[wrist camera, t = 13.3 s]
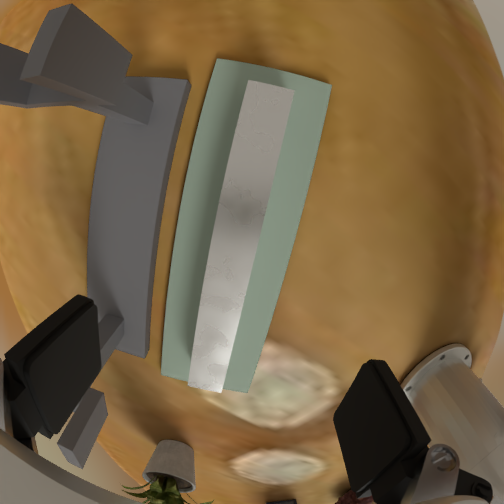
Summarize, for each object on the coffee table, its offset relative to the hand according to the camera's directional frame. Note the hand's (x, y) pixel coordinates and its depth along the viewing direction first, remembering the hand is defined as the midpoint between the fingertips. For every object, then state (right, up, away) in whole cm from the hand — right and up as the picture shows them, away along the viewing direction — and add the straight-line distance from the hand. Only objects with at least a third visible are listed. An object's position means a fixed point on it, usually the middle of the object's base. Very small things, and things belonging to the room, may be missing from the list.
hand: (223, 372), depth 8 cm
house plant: (-9, -24, +22) cm, 34 cm away
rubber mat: (-1, +4, +13) cm, 14 cm away
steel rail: (-1, +4, +13) cm, 13 cm away
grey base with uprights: (-9, +6, +13) cm, 17 cm away
